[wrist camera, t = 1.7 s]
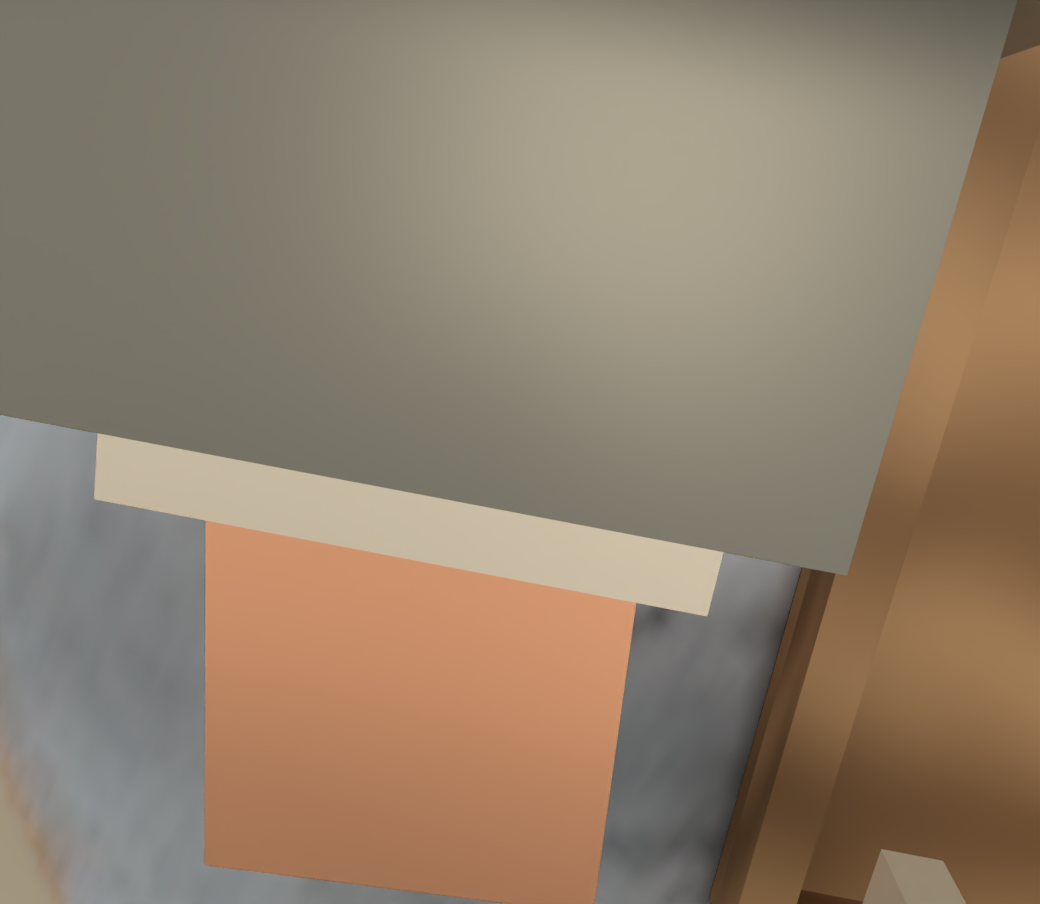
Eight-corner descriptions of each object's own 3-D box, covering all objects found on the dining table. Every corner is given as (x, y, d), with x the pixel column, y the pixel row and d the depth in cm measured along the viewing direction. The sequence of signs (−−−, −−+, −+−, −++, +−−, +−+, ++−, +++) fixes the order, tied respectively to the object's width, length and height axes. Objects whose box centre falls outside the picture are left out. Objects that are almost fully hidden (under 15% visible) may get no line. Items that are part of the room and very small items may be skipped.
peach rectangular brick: (588, 671, 21) (592, 914, 14) (331, 641, 21) (204, 865, 14) (658, 121, 18) (710, 65, 11) (355, 92, 18) (206, 19, 11)
